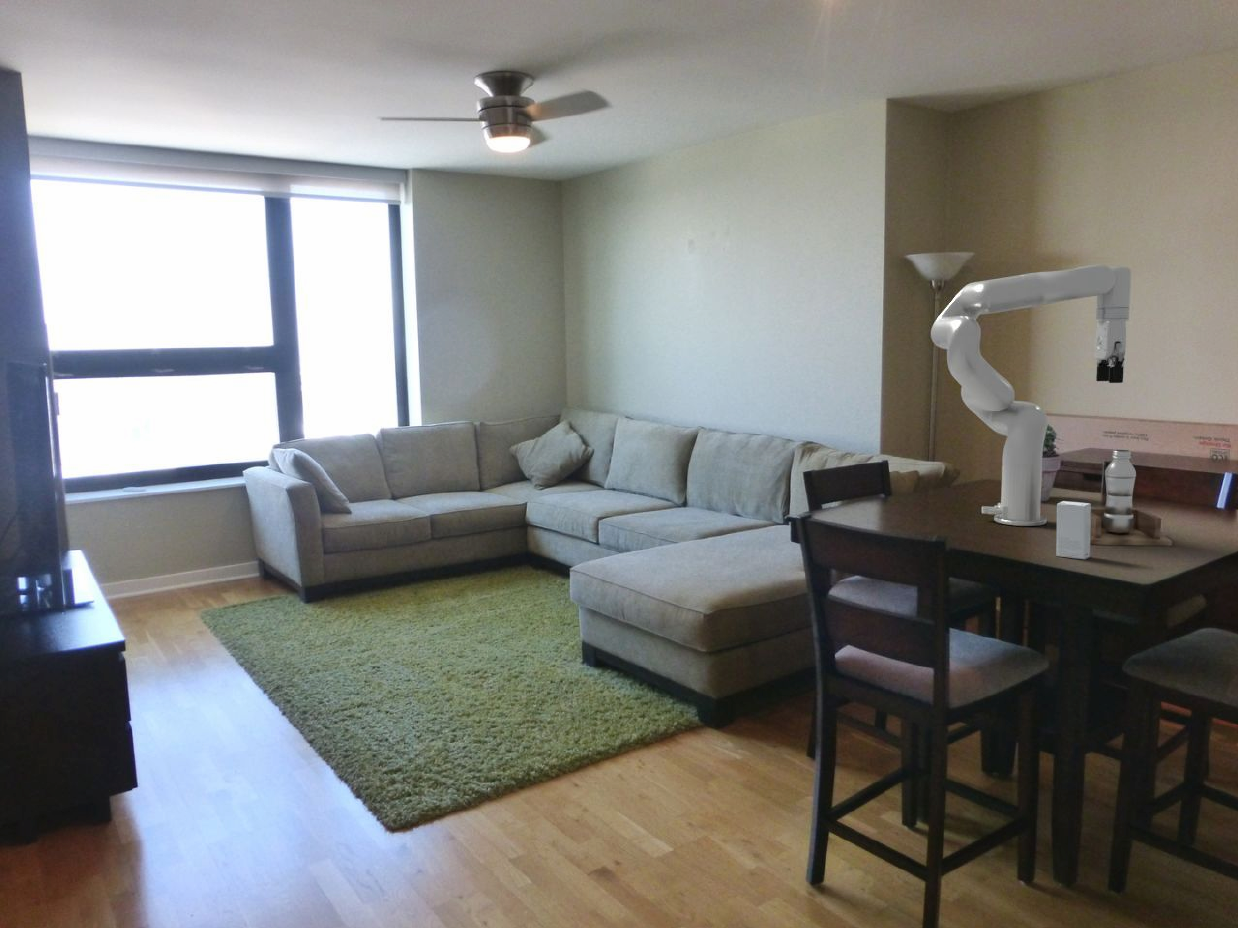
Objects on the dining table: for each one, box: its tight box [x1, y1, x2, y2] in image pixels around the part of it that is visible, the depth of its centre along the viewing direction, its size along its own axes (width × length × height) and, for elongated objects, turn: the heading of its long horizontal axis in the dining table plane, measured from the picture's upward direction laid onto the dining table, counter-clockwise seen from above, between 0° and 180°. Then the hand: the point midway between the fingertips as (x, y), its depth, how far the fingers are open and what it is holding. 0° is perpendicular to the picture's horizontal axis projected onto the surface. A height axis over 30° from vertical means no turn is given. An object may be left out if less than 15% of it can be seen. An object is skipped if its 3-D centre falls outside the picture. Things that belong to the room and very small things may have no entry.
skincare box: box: [1055, 500, 1092, 560], centre depth 203 cm, size 6×4×12 cm
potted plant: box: [1001, 423, 1073, 502], centre depth 273 cm, size 18×20×25 cm
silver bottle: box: [1103, 449, 1137, 534], centre depth 220 cm, size 6×7×20 cm
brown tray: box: [1090, 507, 1173, 547], centre depth 221 cm, size 18×16×6 cm
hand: (1109, 382), depth 239 cm, fingers open, 9 cm apart
